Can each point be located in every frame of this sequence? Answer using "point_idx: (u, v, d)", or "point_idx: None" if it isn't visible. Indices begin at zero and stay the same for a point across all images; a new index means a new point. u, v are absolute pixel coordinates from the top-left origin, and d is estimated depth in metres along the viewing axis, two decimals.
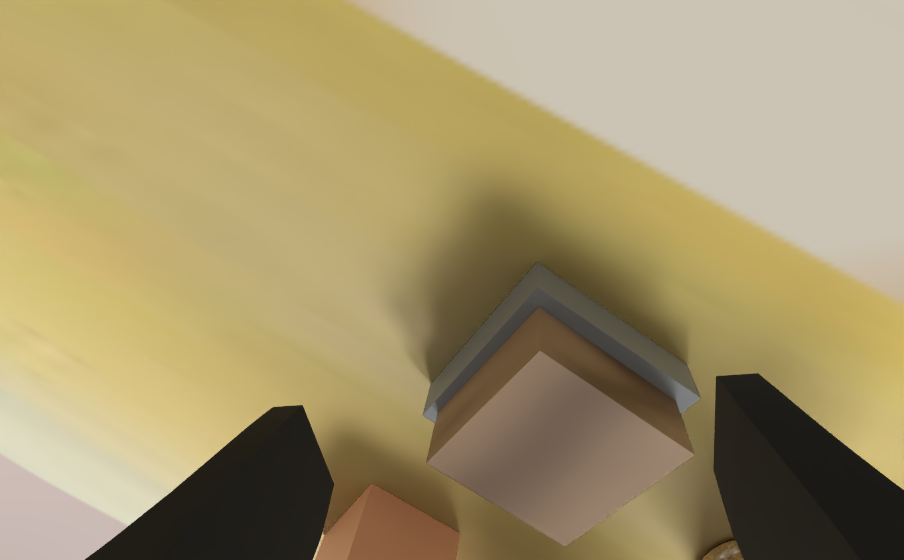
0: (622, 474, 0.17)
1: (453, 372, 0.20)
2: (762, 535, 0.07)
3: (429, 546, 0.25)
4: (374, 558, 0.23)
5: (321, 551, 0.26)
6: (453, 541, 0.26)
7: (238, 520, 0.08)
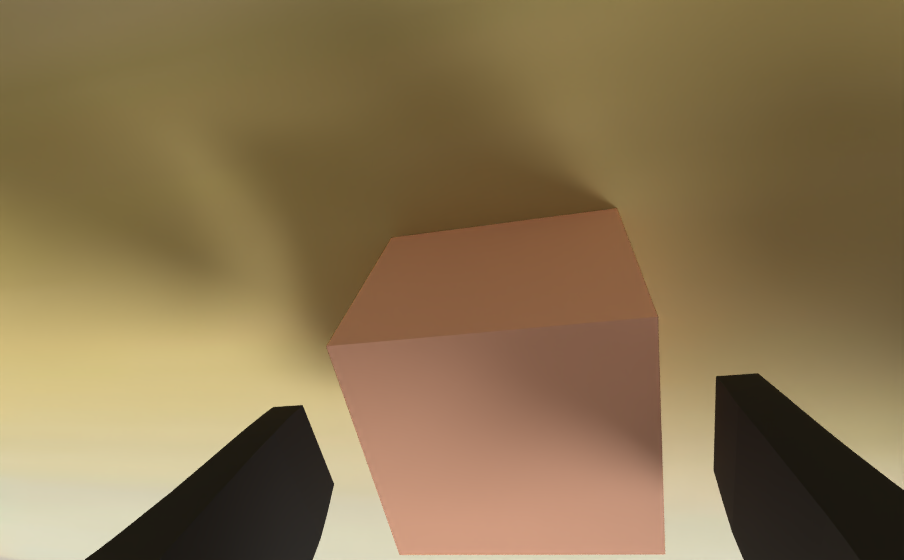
0: None
1: None
2: (762, 535, 0.07)
3: (548, 244, 0.10)
4: (407, 304, 0.09)
5: None
6: (606, 220, 0.11)
7: (238, 520, 0.08)
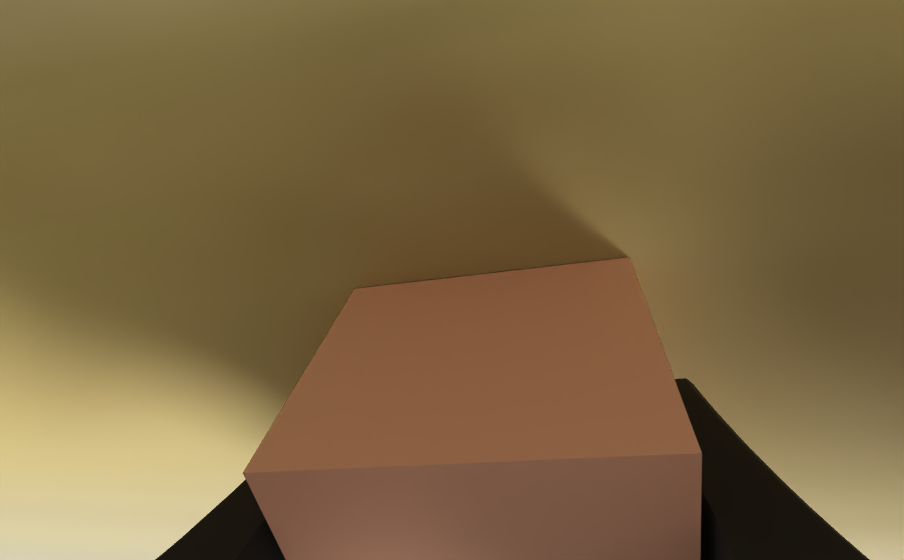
0: None
1: None
2: None
3: (544, 313, 0.08)
4: (359, 403, 0.07)
5: None
6: (619, 278, 0.09)
7: None
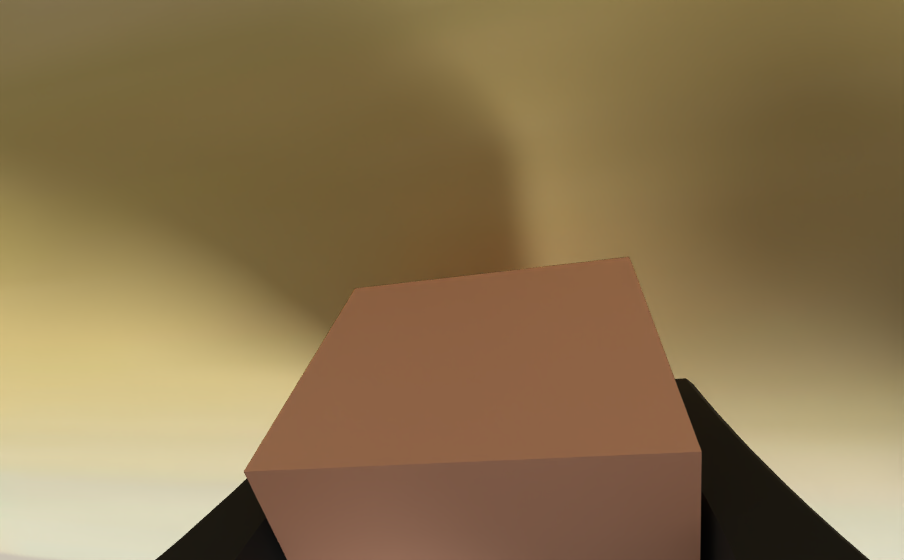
0: None
1: None
2: None
3: (544, 312, 0.08)
4: (359, 402, 0.07)
5: None
6: (619, 278, 0.09)
7: None
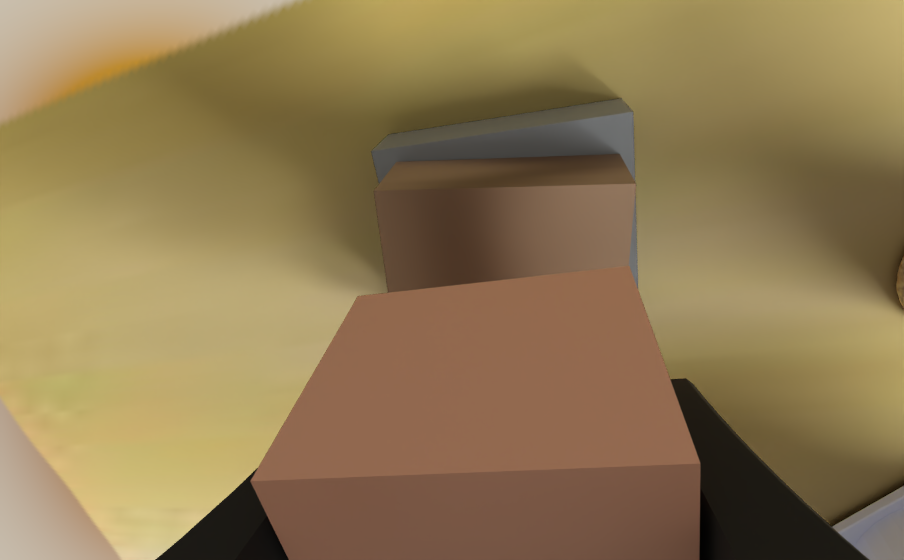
0: (586, 267, 0.13)
1: None
2: None
3: (546, 321, 0.08)
4: (364, 412, 0.07)
5: None
6: (619, 286, 0.09)
7: None
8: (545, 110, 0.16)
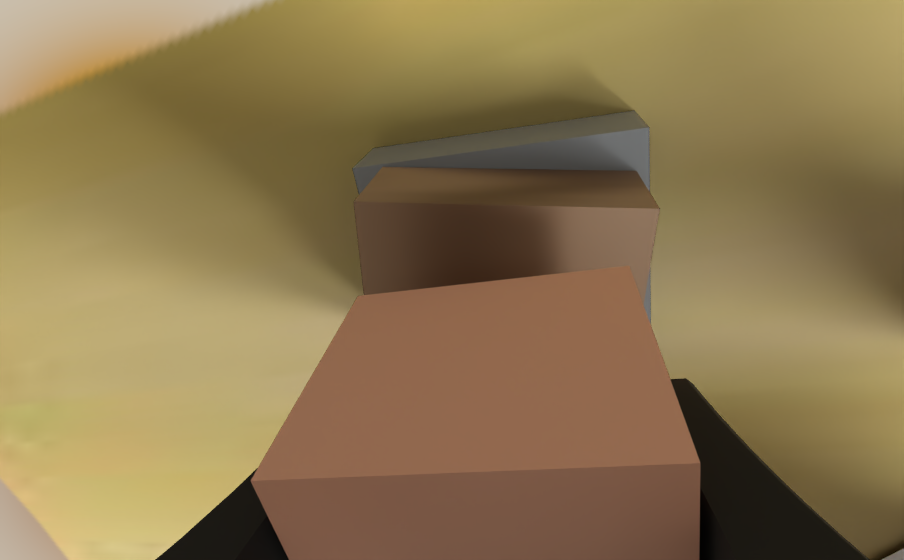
0: None
1: None
2: None
3: (546, 321, 0.08)
4: (364, 411, 0.07)
5: None
6: (619, 286, 0.09)
7: None
8: (548, 123, 0.14)
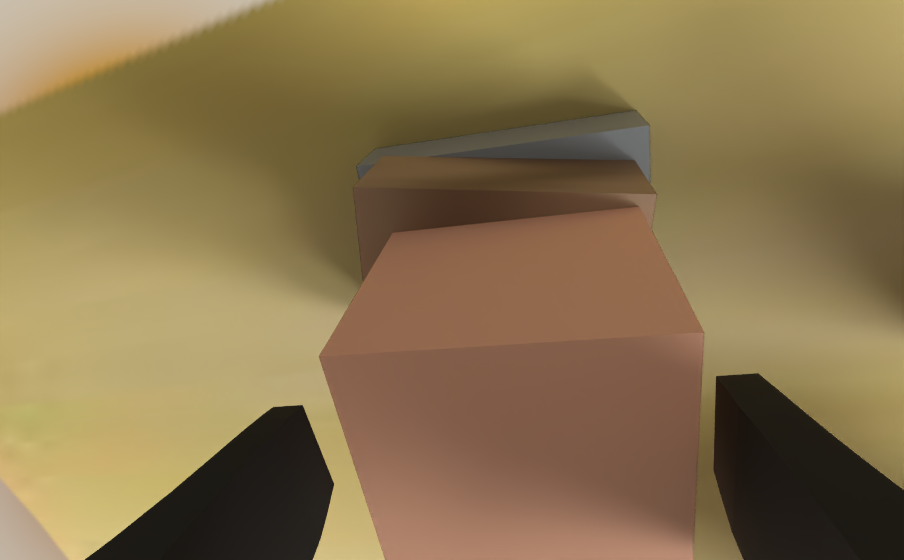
0: None
1: None
2: (762, 535, 0.07)
3: (567, 246, 0.09)
4: (412, 309, 0.08)
5: None
6: (631, 221, 0.10)
7: (238, 520, 0.08)
8: None
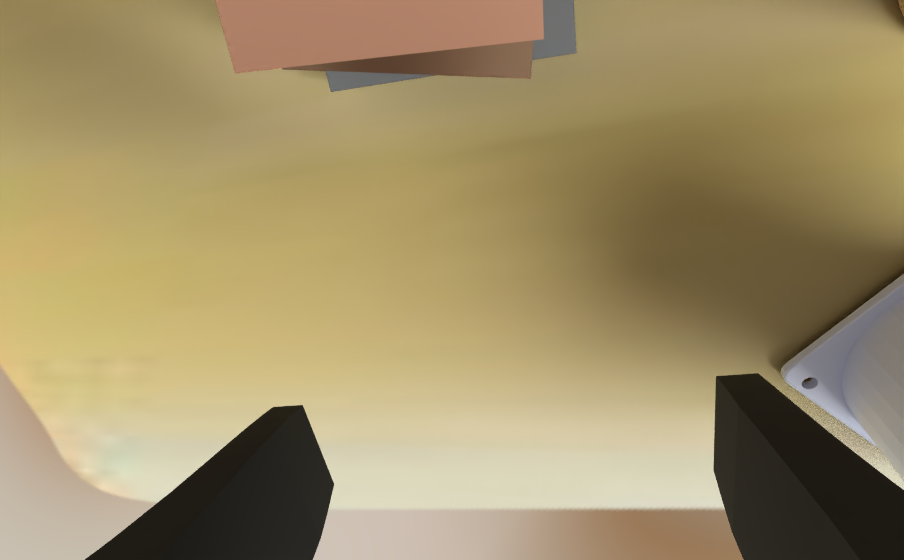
0: None
1: None
2: (762, 535, 0.07)
3: None
4: None
5: None
6: None
7: (238, 520, 0.08)
8: None
